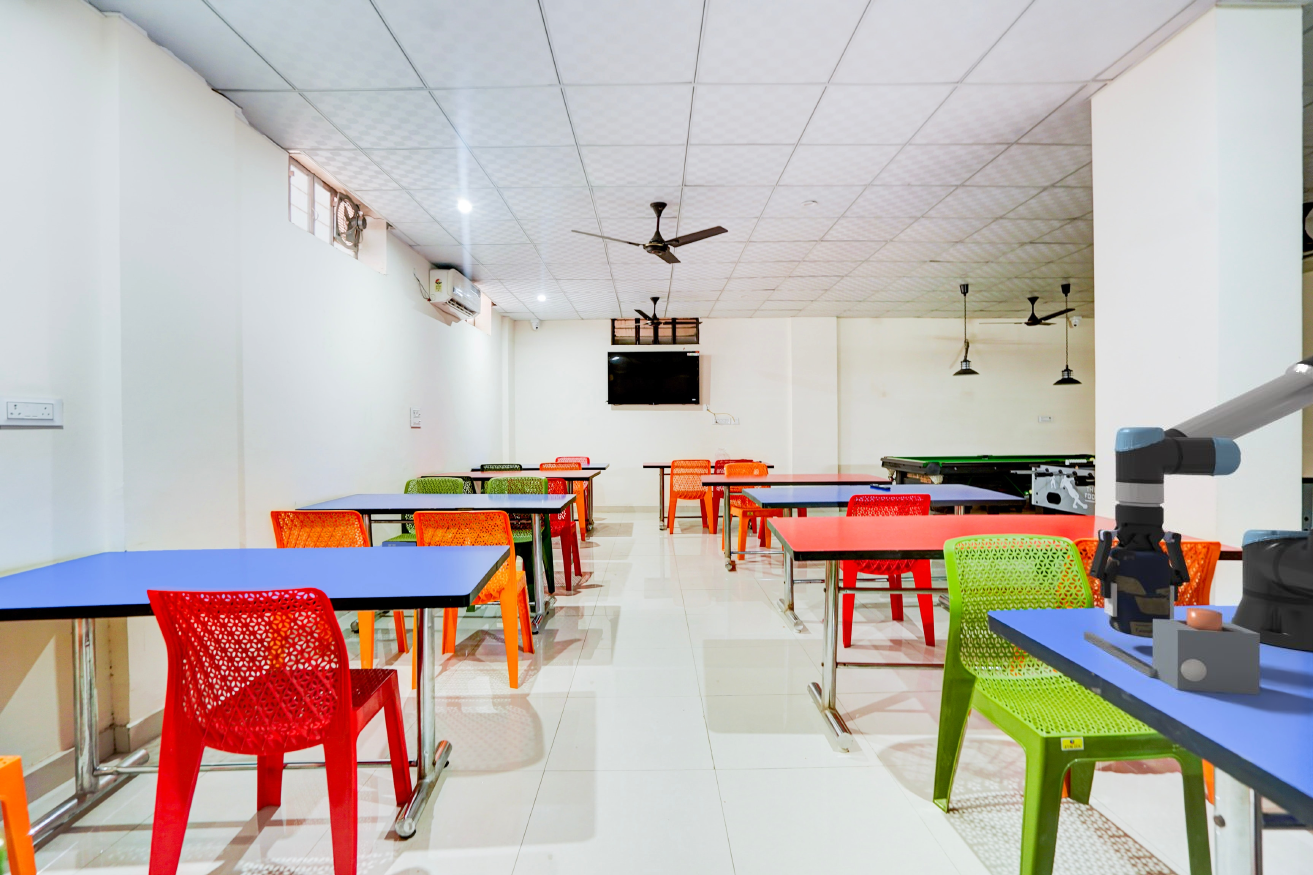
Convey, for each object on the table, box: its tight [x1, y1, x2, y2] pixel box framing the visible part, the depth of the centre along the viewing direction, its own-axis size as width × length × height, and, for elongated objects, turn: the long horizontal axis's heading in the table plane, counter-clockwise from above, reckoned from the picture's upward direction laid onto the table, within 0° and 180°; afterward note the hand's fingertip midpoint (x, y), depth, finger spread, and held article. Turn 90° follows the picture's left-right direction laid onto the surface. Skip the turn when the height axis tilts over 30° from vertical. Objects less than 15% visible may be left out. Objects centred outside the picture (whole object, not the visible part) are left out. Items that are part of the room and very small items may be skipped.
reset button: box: [1186, 607, 1223, 631], centre depth 100 cm, size 4×4×4 cm
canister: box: [1108, 546, 1171, 639], centre depth 117 cm, size 10×10×18 cm
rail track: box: [1083, 631, 1158, 679], centre depth 111 cm, size 15×20×2 cm
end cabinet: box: [1152, 619, 1261, 696], centre depth 99 cm, size 12×6×10 cm, turn 81°
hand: (1138, 615), depth 117 cm, fingers closed on canister, 9 cm apart
